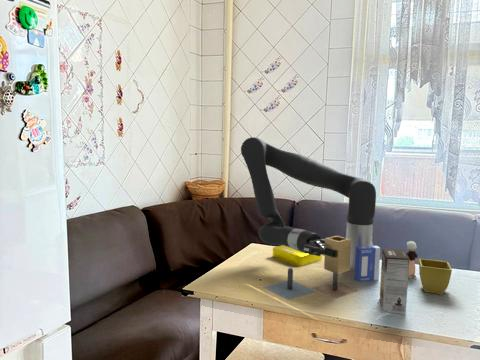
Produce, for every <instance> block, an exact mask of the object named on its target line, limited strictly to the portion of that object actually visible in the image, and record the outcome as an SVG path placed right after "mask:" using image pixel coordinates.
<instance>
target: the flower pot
mask: <svg viewBox="0 0 480 360" xmlns="http://www.w3.org/2000/svg"><path fill="white" fill-rule="evenodd" d="M418 260H419V261H418V266H419V269H418V270H419V271H418V272H419V279H420V283H421V287H422V289H423V291H424V292H425V293H428V294H429V293H431V294H437V295H443V294H444V293H445V292H446V290H447V289H448V287H449V284H450V281H451V275H452V271H453V269H452V267H451V266H450V265H451V264H450V263H449V262H448V261H444V260H435V259H425V258H418Z"/></svg>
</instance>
